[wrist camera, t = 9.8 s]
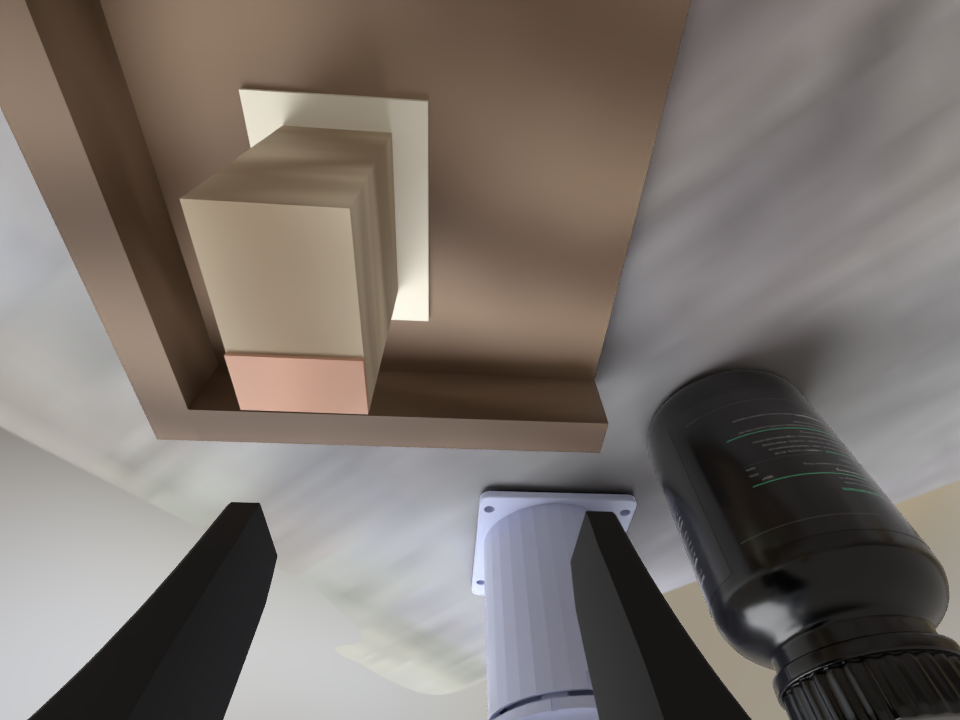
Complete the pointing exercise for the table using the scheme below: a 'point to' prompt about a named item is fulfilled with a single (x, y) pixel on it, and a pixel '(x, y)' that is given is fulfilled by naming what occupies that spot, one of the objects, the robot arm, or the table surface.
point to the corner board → (417, 190)
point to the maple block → (301, 266)
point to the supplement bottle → (804, 554)
